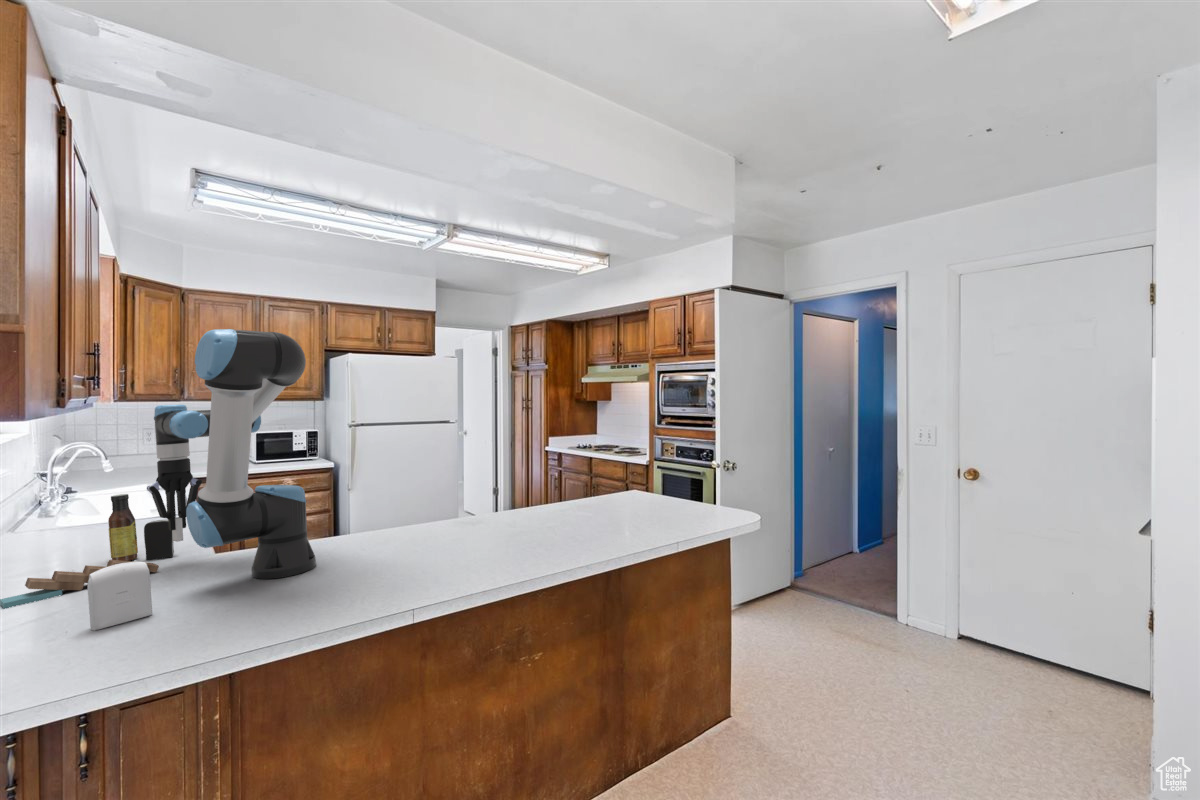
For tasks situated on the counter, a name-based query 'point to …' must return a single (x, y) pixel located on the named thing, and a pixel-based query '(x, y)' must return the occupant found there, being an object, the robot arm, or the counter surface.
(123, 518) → the sauce bottle
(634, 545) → the counter surface
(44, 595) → the domino
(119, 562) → the domino
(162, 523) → the battery charger
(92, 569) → the domino
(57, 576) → the domino
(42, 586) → the domino
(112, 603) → the photo printer
